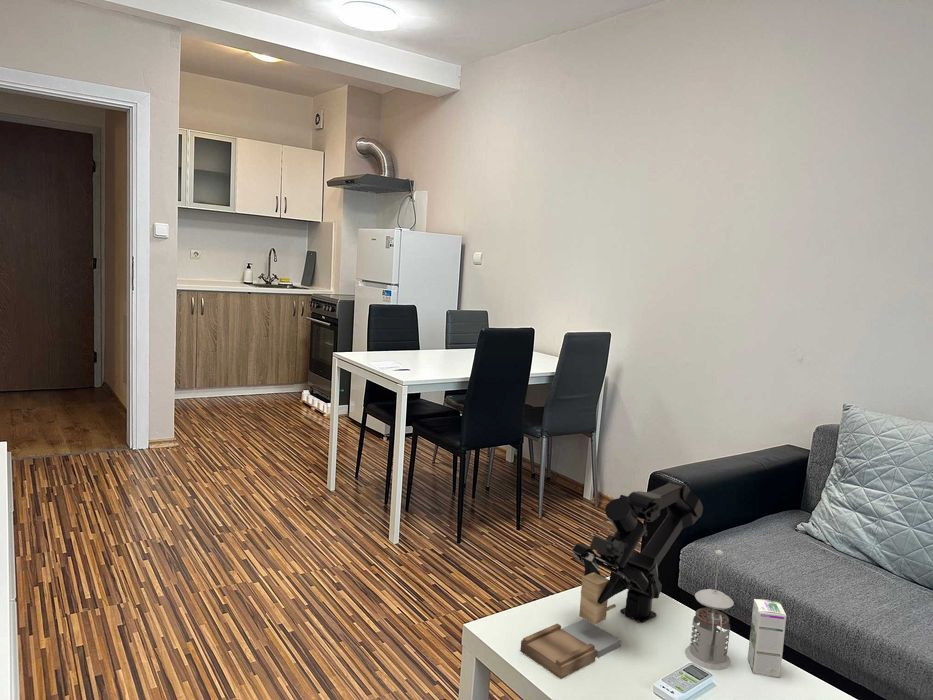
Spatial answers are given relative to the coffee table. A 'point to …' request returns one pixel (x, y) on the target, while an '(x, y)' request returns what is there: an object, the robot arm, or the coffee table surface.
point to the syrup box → (766, 637)
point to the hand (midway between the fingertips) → (590, 598)
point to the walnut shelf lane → (558, 651)
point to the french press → (711, 629)
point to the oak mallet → (593, 598)
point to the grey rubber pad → (593, 636)
